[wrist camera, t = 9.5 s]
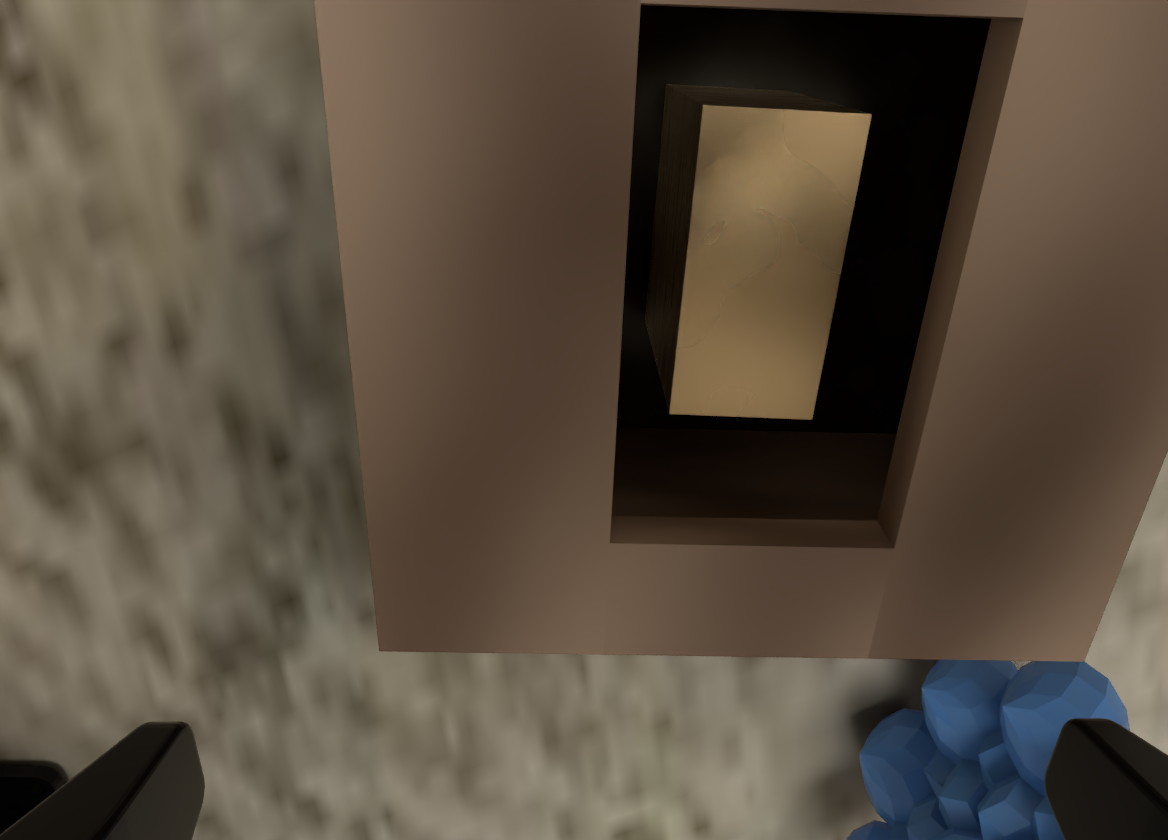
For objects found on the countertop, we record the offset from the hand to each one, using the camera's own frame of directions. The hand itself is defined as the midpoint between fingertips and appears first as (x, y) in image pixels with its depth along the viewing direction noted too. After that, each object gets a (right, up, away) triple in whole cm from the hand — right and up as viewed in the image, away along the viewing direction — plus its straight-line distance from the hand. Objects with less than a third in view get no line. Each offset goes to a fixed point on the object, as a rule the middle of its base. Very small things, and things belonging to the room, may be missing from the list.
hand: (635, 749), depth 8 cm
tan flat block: (+2, +8, +9) cm, 12 cm away
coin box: (+2, +8, +9) cm, 12 cm away
